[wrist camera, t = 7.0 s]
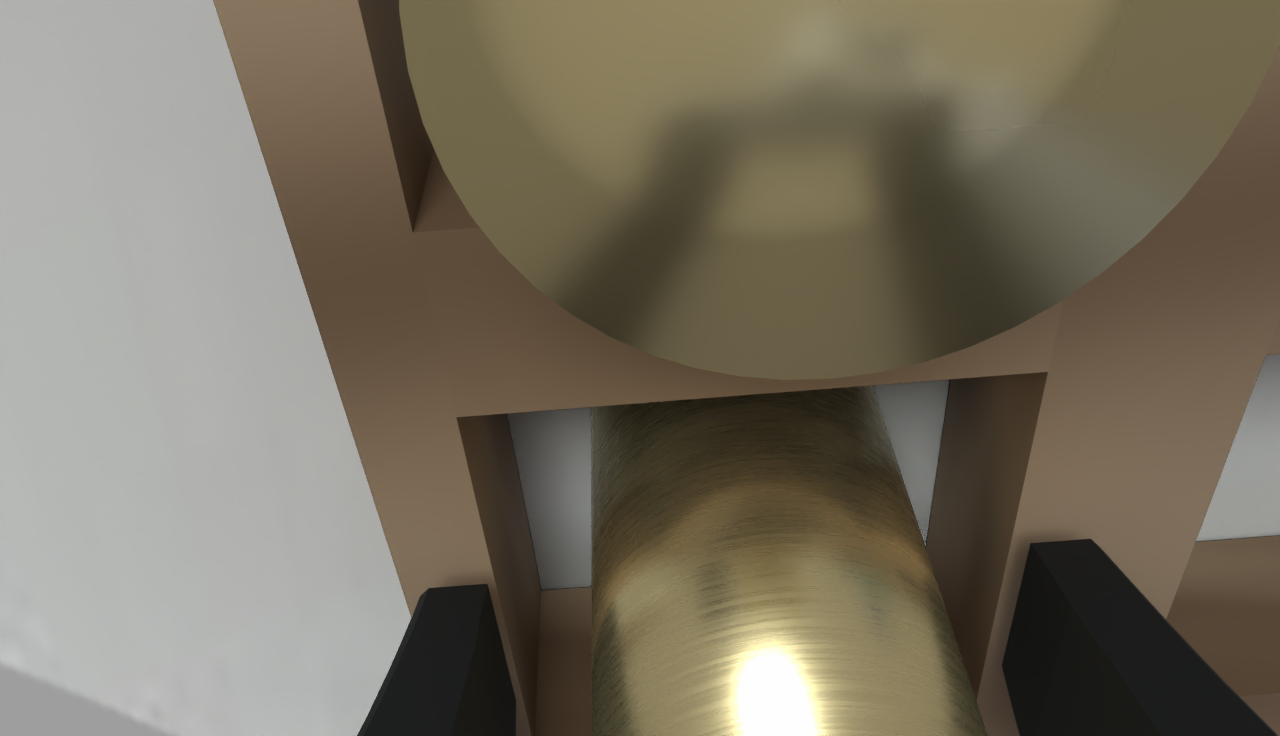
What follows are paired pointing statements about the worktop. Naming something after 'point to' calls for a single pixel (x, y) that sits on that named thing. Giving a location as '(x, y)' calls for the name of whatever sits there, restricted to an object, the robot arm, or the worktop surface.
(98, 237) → the worktop surface
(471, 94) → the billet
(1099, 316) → the wooden grid frame
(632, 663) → the brass billet
